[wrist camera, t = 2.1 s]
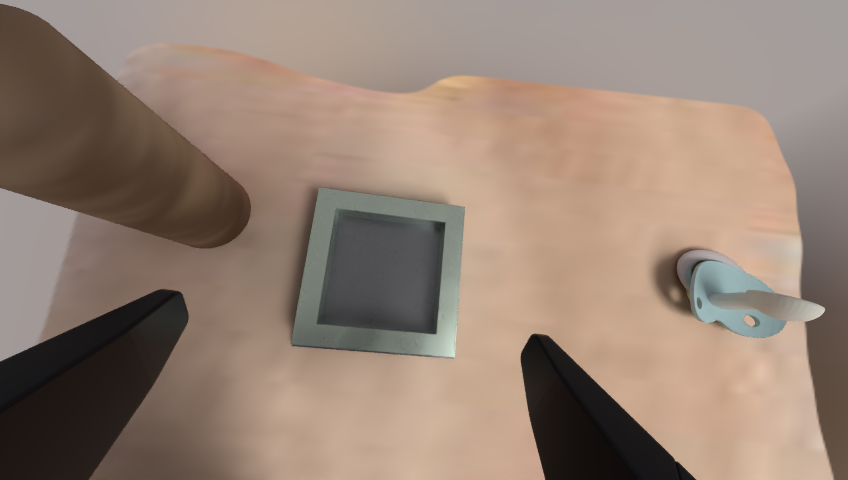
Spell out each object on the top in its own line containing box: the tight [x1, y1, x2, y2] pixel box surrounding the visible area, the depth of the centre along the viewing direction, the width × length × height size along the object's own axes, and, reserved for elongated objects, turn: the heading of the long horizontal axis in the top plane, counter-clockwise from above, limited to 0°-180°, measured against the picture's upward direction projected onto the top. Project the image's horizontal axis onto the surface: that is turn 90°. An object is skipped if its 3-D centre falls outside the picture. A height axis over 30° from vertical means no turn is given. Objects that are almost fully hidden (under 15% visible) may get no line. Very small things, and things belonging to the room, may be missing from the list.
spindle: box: [0, 4, 251, 248], centre depth 14 cm, size 5×5×12 cm
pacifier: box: [677, 249, 825, 338], centre depth 21 cm, size 7×6×6 cm
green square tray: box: [291, 187, 465, 359], centre depth 20 cm, size 10×10×2 cm
